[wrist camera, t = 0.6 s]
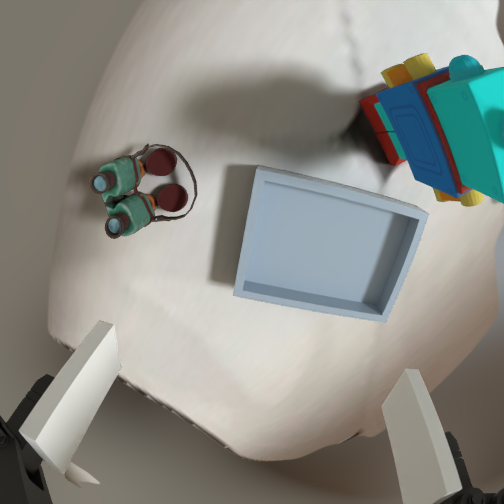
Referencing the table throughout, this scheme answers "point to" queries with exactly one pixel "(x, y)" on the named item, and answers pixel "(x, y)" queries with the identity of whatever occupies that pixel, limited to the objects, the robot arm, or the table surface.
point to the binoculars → (138, 204)
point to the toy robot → (444, 126)
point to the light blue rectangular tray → (326, 246)
